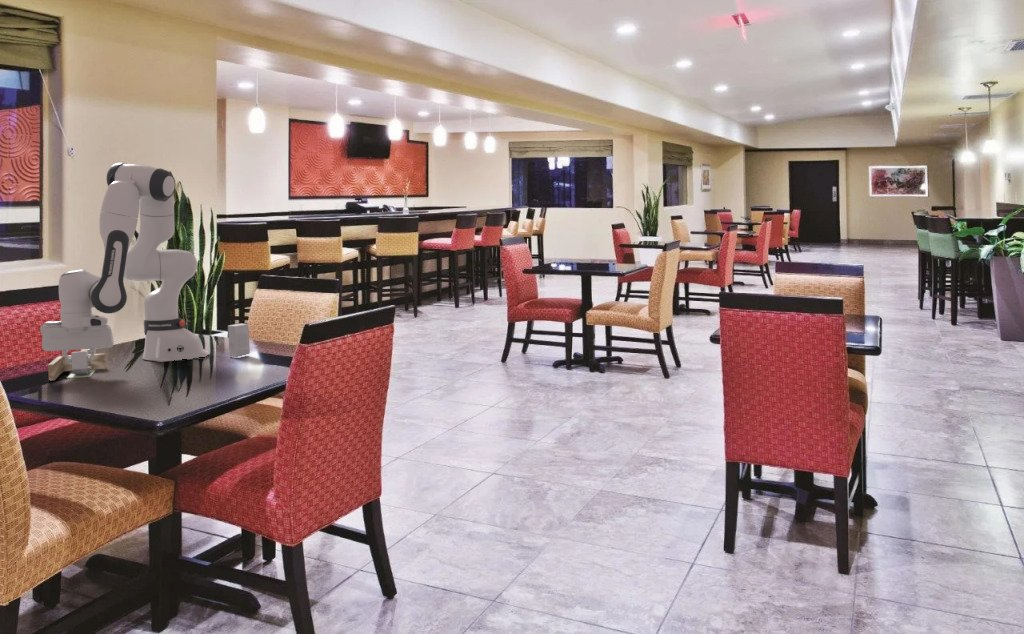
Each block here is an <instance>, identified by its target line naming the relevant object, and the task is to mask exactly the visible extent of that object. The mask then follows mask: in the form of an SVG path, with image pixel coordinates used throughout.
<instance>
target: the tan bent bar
mask: <svg viewBox="0 0 1024 634" xmlns="http://www.w3.org/2000/svg"><path fill="white" fill-rule="evenodd" d="M91 354H92V353H91ZM91 354H89V353H88V357H90V356H91ZM67 355H68V354H67ZM68 356H69V357H70V358H72V357H71V354H69V355H68ZM88 366H89V367H90V366H92V370H106V369H107V362H106V353H95V354H94V355H93V362H92V363H88ZM47 372H48V381H49V380H50V382H51V381H55V380H56V379H57V378H59V377H60V375H62V374H63V372H72V364H67V360H66V358H65V357H64V356H63V355H58V356H56V357H55V358H54V359H52V361H50V363H48V364H47Z"/></svg>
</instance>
